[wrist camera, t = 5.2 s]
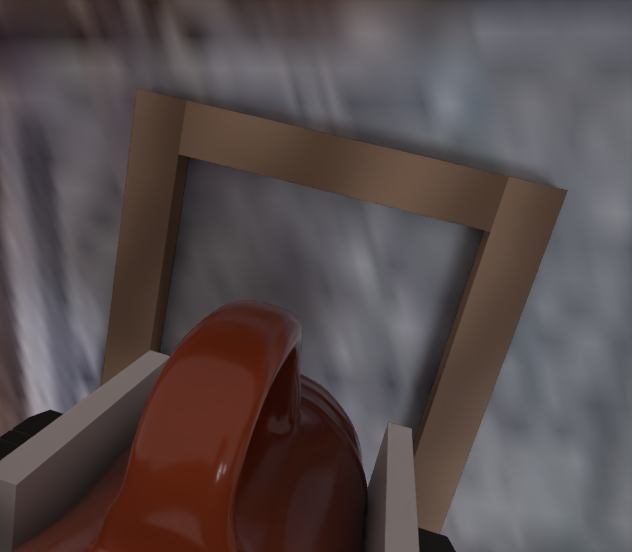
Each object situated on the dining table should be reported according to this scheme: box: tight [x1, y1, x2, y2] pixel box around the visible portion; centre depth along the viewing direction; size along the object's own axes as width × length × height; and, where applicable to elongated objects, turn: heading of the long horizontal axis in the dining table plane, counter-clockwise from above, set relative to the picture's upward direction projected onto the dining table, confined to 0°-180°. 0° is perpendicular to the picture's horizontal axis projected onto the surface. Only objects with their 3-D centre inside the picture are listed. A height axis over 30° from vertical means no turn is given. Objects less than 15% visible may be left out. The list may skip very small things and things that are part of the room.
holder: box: [102, 89, 568, 534], centre depth 19 cm, size 16×19×1 cm
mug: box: [11, 300, 368, 552], centre depth 11 cm, size 12×9×10 cm
